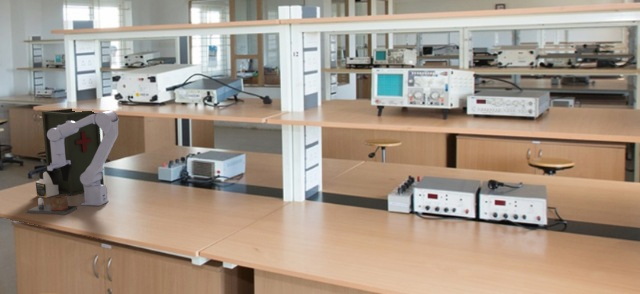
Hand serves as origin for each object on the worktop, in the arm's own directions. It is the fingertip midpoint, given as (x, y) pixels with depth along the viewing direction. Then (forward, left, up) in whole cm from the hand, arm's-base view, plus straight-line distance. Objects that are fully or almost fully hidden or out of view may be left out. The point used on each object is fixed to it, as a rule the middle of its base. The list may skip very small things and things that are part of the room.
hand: (60, 182), depth 259 cm
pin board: (-4, +13, -9) cm, 17 cm away
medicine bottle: (+15, -11, -10) cm, 21 cm away
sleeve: (-7, +13, -8) cm, 17 cm away
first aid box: (+8, -24, -10) cm, 27 cm away
